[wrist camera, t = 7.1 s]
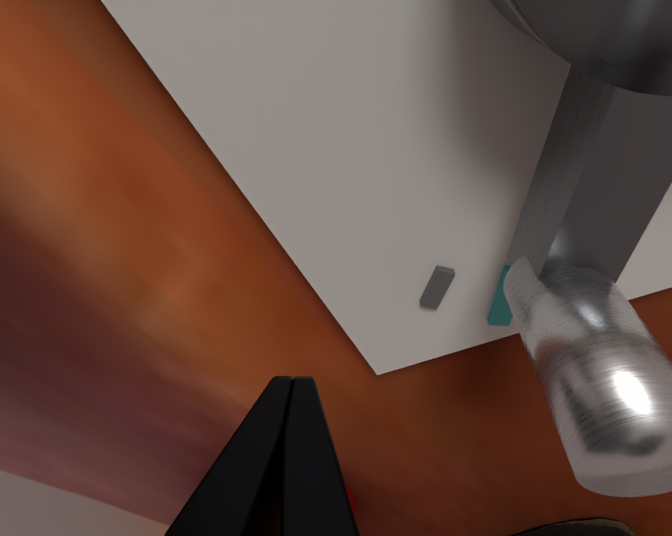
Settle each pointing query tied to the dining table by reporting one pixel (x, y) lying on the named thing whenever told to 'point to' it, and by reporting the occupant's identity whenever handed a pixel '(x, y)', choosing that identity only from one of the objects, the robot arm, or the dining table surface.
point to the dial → (598, 238)
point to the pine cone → (583, 529)
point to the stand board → (379, 151)
